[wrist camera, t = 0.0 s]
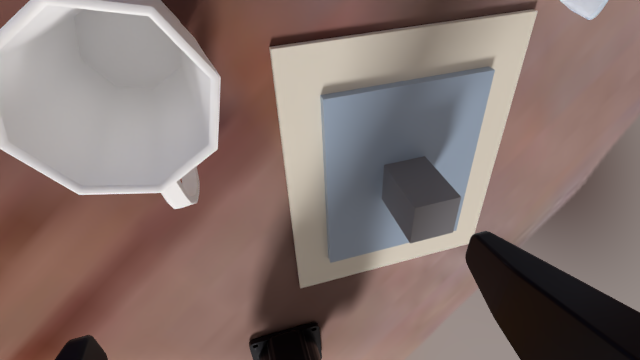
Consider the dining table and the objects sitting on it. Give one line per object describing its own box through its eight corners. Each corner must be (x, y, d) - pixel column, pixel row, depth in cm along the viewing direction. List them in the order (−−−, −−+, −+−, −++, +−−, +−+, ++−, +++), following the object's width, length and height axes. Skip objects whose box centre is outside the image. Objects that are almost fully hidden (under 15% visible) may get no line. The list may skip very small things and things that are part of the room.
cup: (175, -73, 16) (172, -45, 10) (249, 126, 23) (275, 217, 17) (4, -27, 16) (-109, 33, 10) (129, 164, 22) (111, 274, 16)
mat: (469, 239, 36) (471, 242, 35) (299, 284, 33) (300, 288, 32) (533, 9, 23) (537, 10, 23) (269, 46, 20) (270, 49, 20)
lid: (452, 225, 33) (488, 271, 29) (328, 257, 31) (349, 311, 27) (489, 66, 24) (547, 101, 21) (320, 95, 22) (349, 140, 18)
